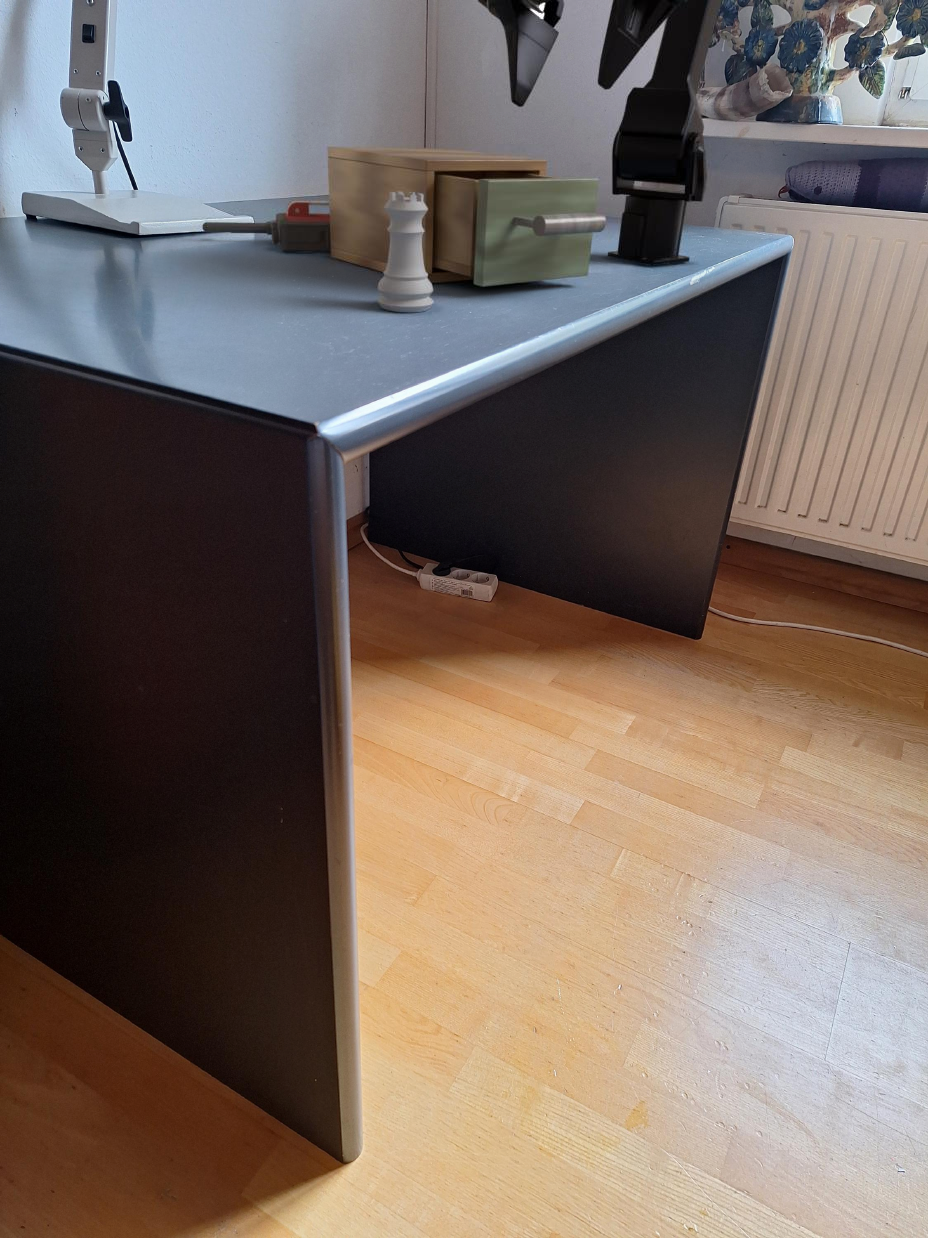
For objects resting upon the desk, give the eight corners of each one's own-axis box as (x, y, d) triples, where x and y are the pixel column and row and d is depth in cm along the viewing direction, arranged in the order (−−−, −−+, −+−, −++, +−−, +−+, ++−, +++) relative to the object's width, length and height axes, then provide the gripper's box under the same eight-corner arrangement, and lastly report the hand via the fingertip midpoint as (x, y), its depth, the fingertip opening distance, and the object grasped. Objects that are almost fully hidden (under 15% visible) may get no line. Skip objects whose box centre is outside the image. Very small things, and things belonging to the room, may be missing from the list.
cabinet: (537, 272, 83) (547, 159, 78) (424, 284, 76) (426, 159, 71) (439, 249, 94) (442, 147, 89) (330, 257, 86) (327, 146, 81)
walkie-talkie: (387, 240, 97) (203, 239, 92) (387, 197, 95) (198, 193, 90) (403, 253, 90) (204, 252, 85) (403, 206, 88) (199, 203, 83)
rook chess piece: (365, 307, 66) (363, 192, 62) (396, 298, 70) (396, 188, 66) (415, 315, 65) (417, 197, 60) (444, 306, 68) (447, 193, 64)
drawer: (620, 283, 75) (633, 182, 71) (514, 295, 68) (522, 185, 64) (485, 251, 87) (489, 164, 83) (382, 259, 80) (382, 164, 76)
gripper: (451, -160, 64) (403, 64, 67) (649, -273, 51) (579, 12, 53) (550, -69, 72) (504, 128, 74) (745, -147, 58) (680, 97, 61)
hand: (557, 95), depth 66 cm, fingers open, 9 cm apart
